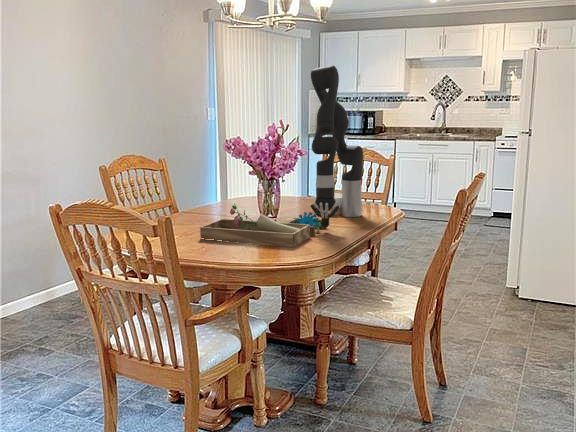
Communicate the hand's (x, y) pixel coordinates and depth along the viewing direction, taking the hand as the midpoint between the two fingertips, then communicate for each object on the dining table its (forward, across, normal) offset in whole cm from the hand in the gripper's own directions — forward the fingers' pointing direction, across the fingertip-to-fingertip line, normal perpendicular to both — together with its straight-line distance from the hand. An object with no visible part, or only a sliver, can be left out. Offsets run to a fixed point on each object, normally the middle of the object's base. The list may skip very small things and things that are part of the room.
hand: (325, 227), depth 240 cm
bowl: (+2, +12, -45) cm, 47 cm away
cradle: (+2, +9, 0) cm, 9 cm away
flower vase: (+2, +21, +16) cm, 26 cm away
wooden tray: (+2, +23, +20) cm, 30 cm away
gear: (+2, +7, +1) cm, 8 cm away
